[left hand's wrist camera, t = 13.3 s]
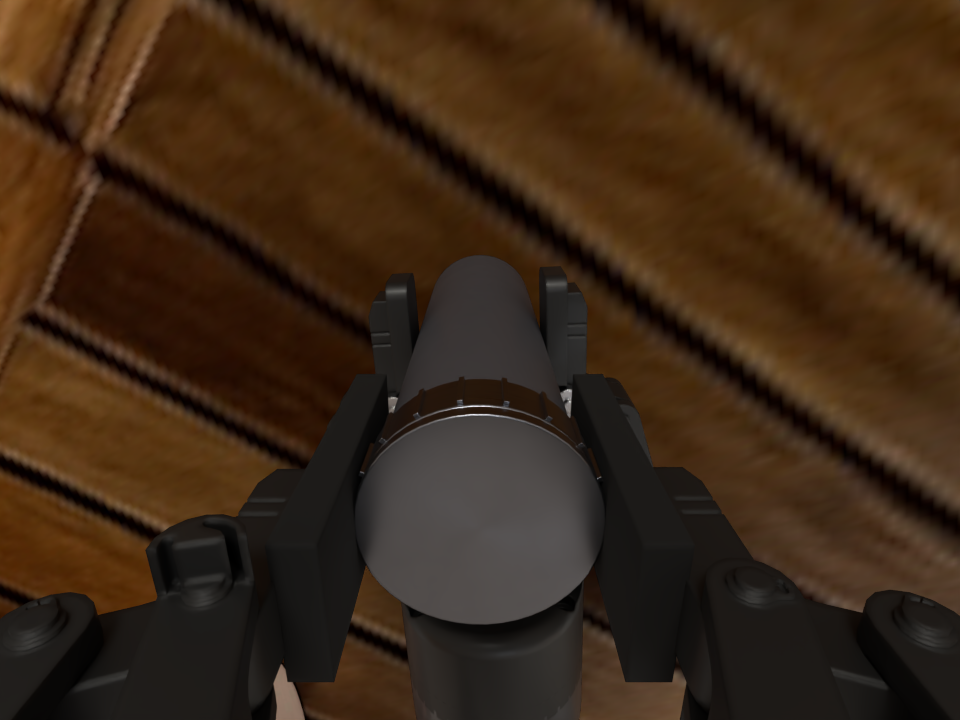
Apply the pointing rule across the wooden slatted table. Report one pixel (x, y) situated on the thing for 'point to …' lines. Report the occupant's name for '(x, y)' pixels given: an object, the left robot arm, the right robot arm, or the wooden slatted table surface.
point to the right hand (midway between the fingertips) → (475, 277)
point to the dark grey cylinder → (480, 332)
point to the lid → (479, 503)
